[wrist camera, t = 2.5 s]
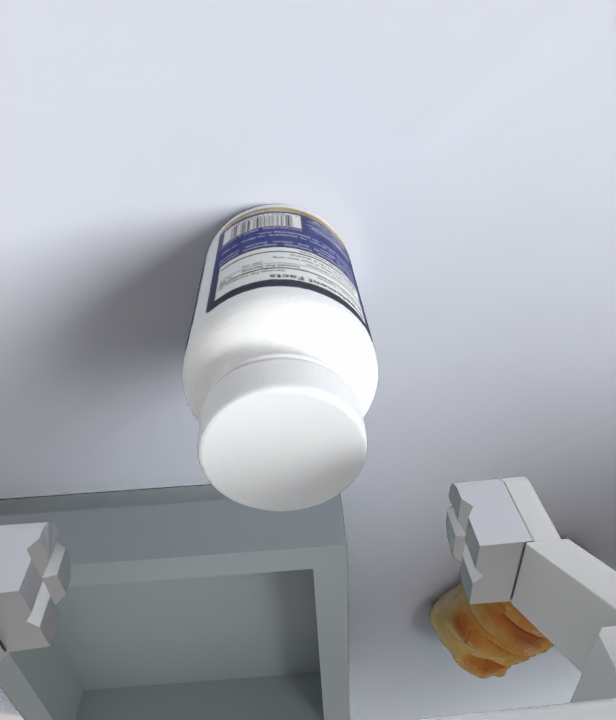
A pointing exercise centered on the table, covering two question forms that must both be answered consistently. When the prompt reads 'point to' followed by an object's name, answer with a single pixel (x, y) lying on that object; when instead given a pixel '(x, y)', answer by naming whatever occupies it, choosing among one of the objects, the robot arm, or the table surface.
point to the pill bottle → (279, 361)
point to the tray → (188, 610)
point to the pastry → (485, 633)
